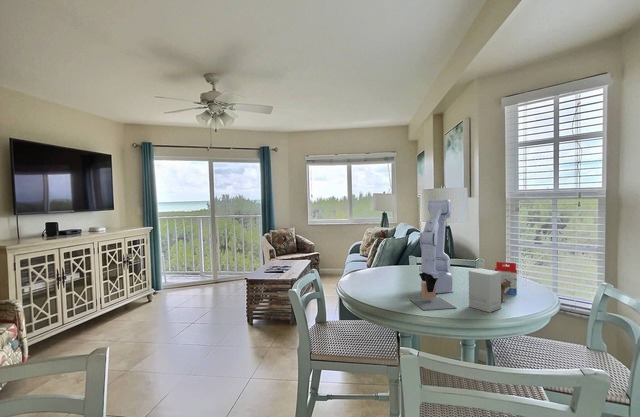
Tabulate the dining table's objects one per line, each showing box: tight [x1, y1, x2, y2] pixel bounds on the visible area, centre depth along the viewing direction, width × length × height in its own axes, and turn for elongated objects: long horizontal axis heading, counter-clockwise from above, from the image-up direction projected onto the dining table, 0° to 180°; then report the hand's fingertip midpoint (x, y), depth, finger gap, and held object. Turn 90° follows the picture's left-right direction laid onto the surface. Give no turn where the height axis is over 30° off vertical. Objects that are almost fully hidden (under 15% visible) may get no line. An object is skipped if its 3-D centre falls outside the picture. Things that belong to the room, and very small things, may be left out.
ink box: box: [494, 261, 518, 296], centre depth 148 cm, size 8×5×15 cm, turn 65°
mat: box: [409, 296, 457, 311], centre depth 134 cm, size 14×14×1 cm
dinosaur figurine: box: [501, 279, 511, 303], centre depth 137 cm, size 14×6×9 cm, turn 122°
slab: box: [420, 280, 436, 299], centre depth 137 cm, size 5×3×7 cm, turn 97°
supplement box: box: [468, 267, 502, 313], centre depth 129 cm, size 9×9×15 cm
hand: (428, 290), depth 137 cm, fingers closed on slab, 3 cm apart
